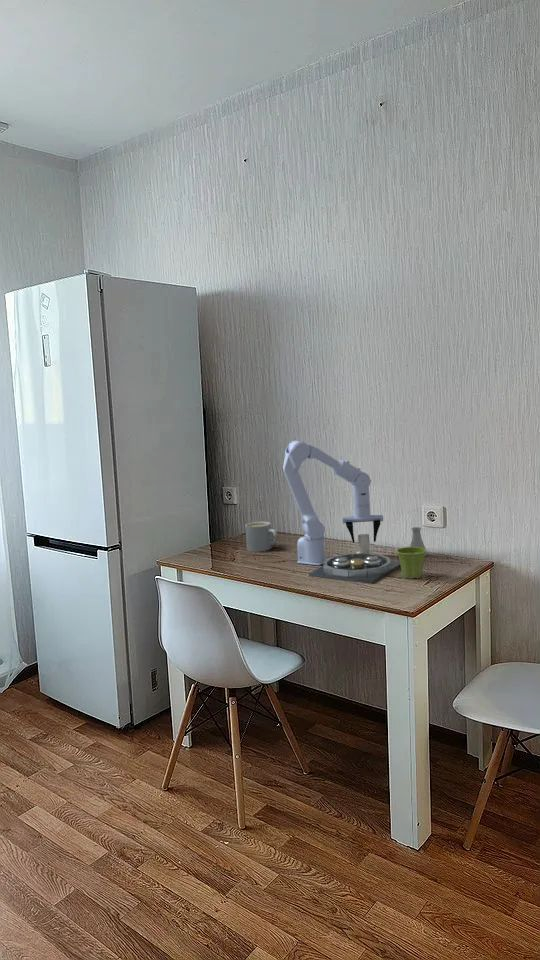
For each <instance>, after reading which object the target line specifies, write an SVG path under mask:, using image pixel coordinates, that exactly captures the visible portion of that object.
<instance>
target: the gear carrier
mask: <svg viewBox="0 0 540 960" xmlns="http://www.w3.org/2000/svg"><path fill="white" fill-rule="evenodd" d="M399 568H401V565H400V560H391V559H390V557H388V556H385V555H382V554H379V553H373V554H370V553H344V554H340V555H339V554H338V555H334V556H333V555H332V556H331V557H329V558H328V559H326V560H324V563H323V564H322V566H320V567H318V568H316V569H315V570H312V571H310V572H308V576H309V577H314V578H323V579H332V580H340V581H347V582H356V583H364V584H374V583H376V582H378V581H379V580H381V579H383V578H384V577H386V576H388V575H389V574H391V573H393V572H395V571H396V570H398V569H399Z"/></svg>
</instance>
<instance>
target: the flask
mask: <svg viewBox="0 0 540 960" xmlns="http://www.w3.org/2000/svg"><path fill="white" fill-rule="evenodd" d="M421 529H422V527H419V526H417V527H416V526H414V527H411V530H412V539H411V541H410V542H411V543H410V546H409V547H420V548H424V549H426V546H425V543H424V540H423V539H422V535H421V534H422V533H421ZM428 555H429V554H428V550H427V549H426V552H425V556H424V557H427V556H428Z"/></svg>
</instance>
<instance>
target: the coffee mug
mask: <svg viewBox="0 0 540 960" xmlns="http://www.w3.org/2000/svg"><path fill="white" fill-rule="evenodd" d="M244 526H245V527H244V529H245V541H246V550H248V551H247V552H249V551H252V552H251V553H261V552H260V551H264V552H267V551H266V550H268V551H270V550H269V549H271V548H272V549H273V545H275V544H276V543H277V542H278V537H279V536H278V532H277V530H276V529H273V528H271V522H268V521H254V522H249V523H246V524H245V525H244ZM272 534H273V539H272ZM272 549H271V550H272Z"/></svg>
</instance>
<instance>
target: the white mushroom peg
mask: <svg viewBox="0 0 540 960" xmlns="http://www.w3.org/2000/svg"><path fill="white" fill-rule="evenodd" d="M357 541H358V551H356V553H370V554H374V552H373V551H371V547H370V546H371V542H370V534H369V533H360V534H358V535H357Z"/></svg>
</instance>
